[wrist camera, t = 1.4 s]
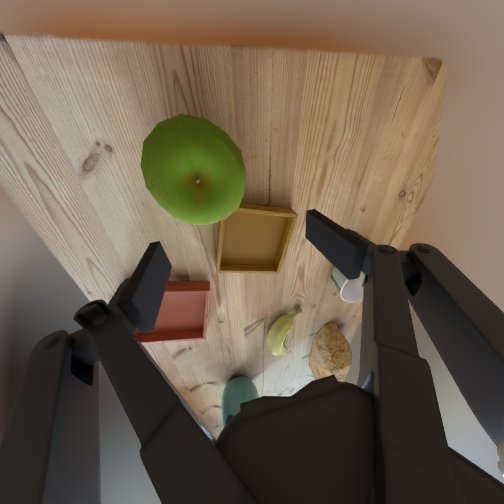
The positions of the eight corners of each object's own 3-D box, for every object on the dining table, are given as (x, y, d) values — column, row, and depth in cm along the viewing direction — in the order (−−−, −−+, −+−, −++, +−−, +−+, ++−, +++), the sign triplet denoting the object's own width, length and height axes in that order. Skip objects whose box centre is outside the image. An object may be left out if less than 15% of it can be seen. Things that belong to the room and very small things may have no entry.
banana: (261, 365, 54) (296, 315, 48) (252, 348, 58) (283, 301, 52) (289, 357, 62) (321, 314, 57) (279, 343, 66) (309, 302, 61)
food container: (368, 245, 47) (389, 259, 41) (364, 277, 53) (381, 293, 48) (325, 260, 46) (341, 276, 41) (327, 291, 53) (340, 308, 48)
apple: (141, 139, 26) (103, 138, 16) (220, 109, 26) (226, 92, 17) (185, 215, 33) (175, 245, 24) (246, 192, 33) (261, 212, 24)
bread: (329, 367, 83) (342, 392, 75) (307, 373, 82) (318, 399, 74) (343, 319, 63) (363, 346, 55) (315, 327, 62) (331, 355, 54)
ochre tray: (215, 264, 40) (215, 272, 37) (221, 200, 33) (222, 205, 30) (274, 265, 44) (279, 273, 41) (291, 208, 37) (298, 214, 34)
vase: (217, 379, 67) (222, 527, 42) (252, 368, 69) (278, 506, 43) (225, 392, 75) (233, 525, 49) (256, 383, 76) (281, 507, 50)
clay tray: (136, 333, 46) (132, 345, 43) (124, 281, 37) (117, 292, 35) (206, 328, 51) (206, 339, 48) (209, 281, 42) (209, 290, 39)
